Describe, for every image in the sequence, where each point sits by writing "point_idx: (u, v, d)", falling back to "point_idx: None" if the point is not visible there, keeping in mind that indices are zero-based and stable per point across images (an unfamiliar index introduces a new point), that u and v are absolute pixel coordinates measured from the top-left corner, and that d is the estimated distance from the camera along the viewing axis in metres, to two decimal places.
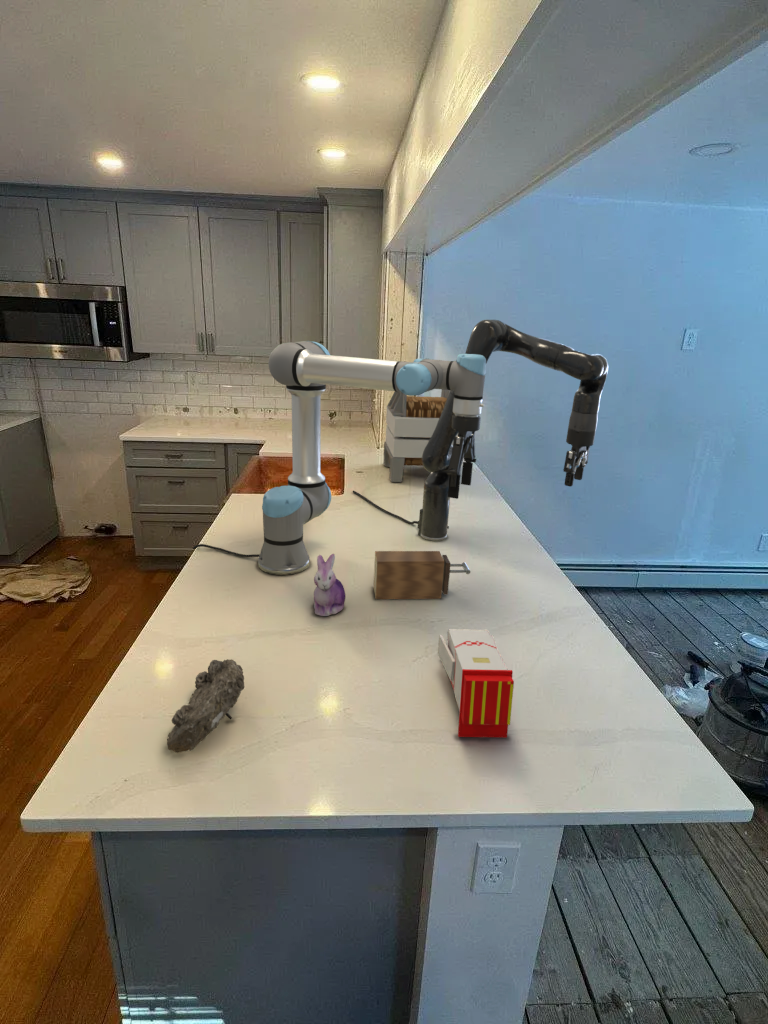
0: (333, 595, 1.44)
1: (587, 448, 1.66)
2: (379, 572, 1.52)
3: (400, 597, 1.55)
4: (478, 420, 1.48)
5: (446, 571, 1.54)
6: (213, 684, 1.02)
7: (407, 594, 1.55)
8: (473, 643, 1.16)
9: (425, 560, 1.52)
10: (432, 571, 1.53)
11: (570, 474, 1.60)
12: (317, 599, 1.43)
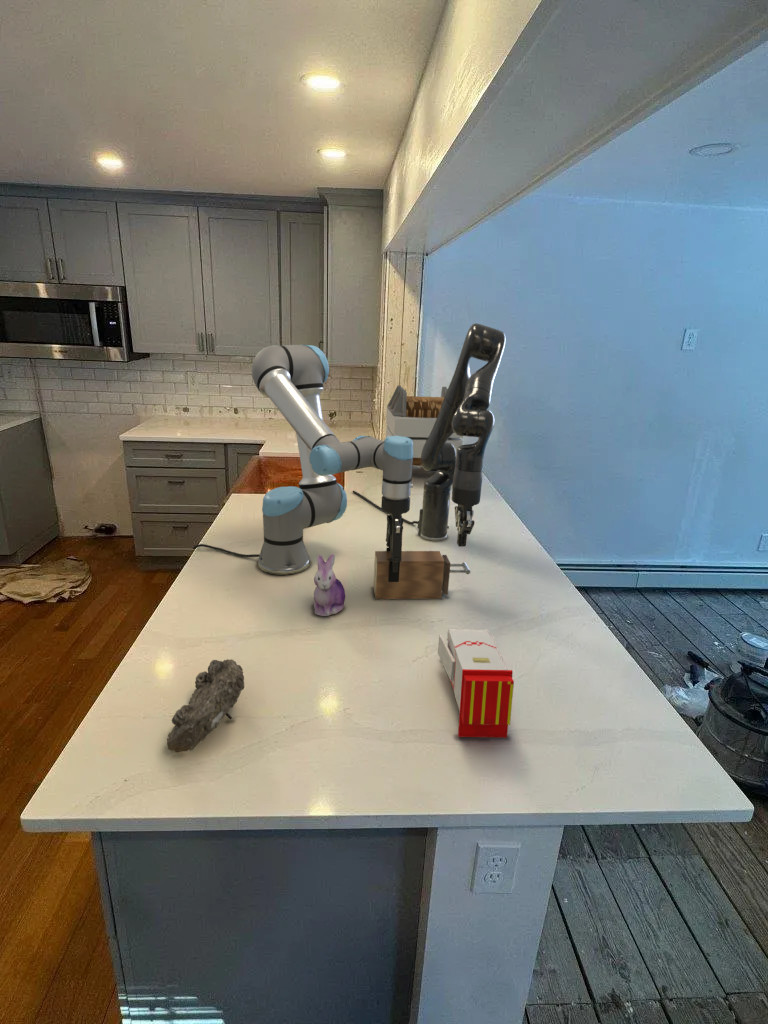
0: (333, 595, 1.44)
1: None
2: (379, 572, 1.52)
3: (400, 597, 1.55)
4: (409, 501, 1.48)
5: (446, 571, 1.54)
6: (213, 684, 1.02)
7: (407, 594, 1.55)
8: (473, 643, 1.16)
9: (425, 560, 1.52)
10: (432, 571, 1.53)
11: None
12: (317, 599, 1.43)
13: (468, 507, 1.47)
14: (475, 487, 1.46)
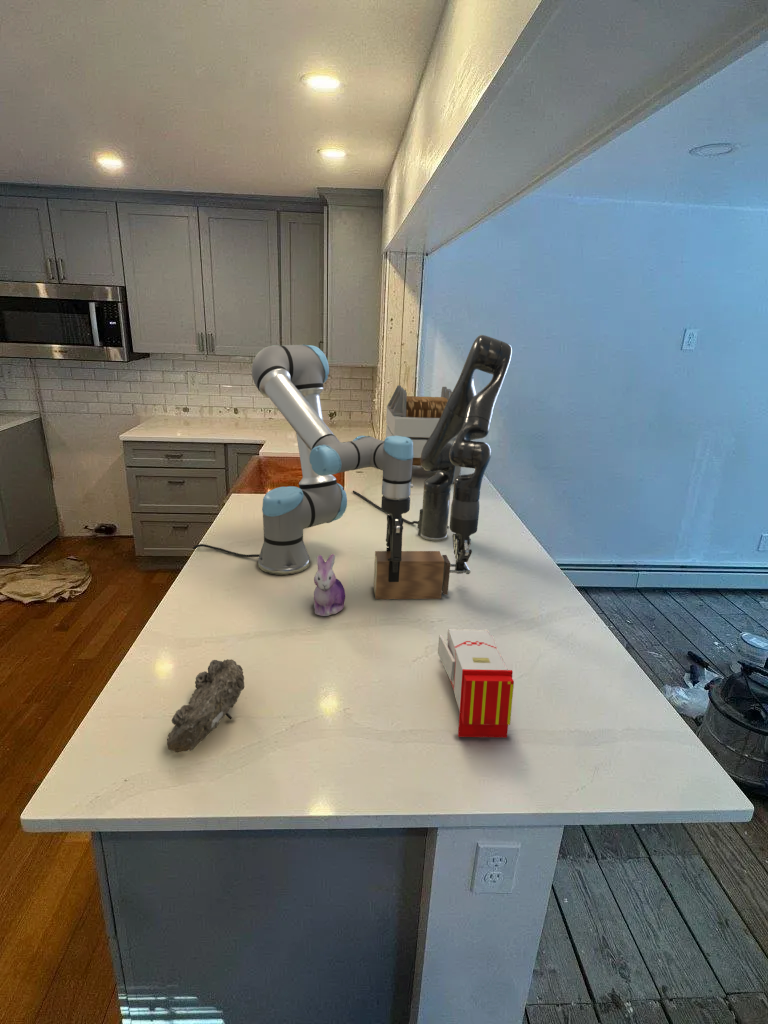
0: (333, 595, 1.44)
1: None
2: (379, 572, 1.52)
3: (400, 597, 1.55)
4: (409, 501, 1.48)
5: (446, 571, 1.54)
6: (213, 684, 1.02)
7: (407, 594, 1.55)
8: (473, 643, 1.16)
9: (425, 560, 1.52)
10: (432, 571, 1.53)
11: None
12: (317, 599, 1.43)
13: (465, 536, 1.50)
14: (472, 517, 1.49)
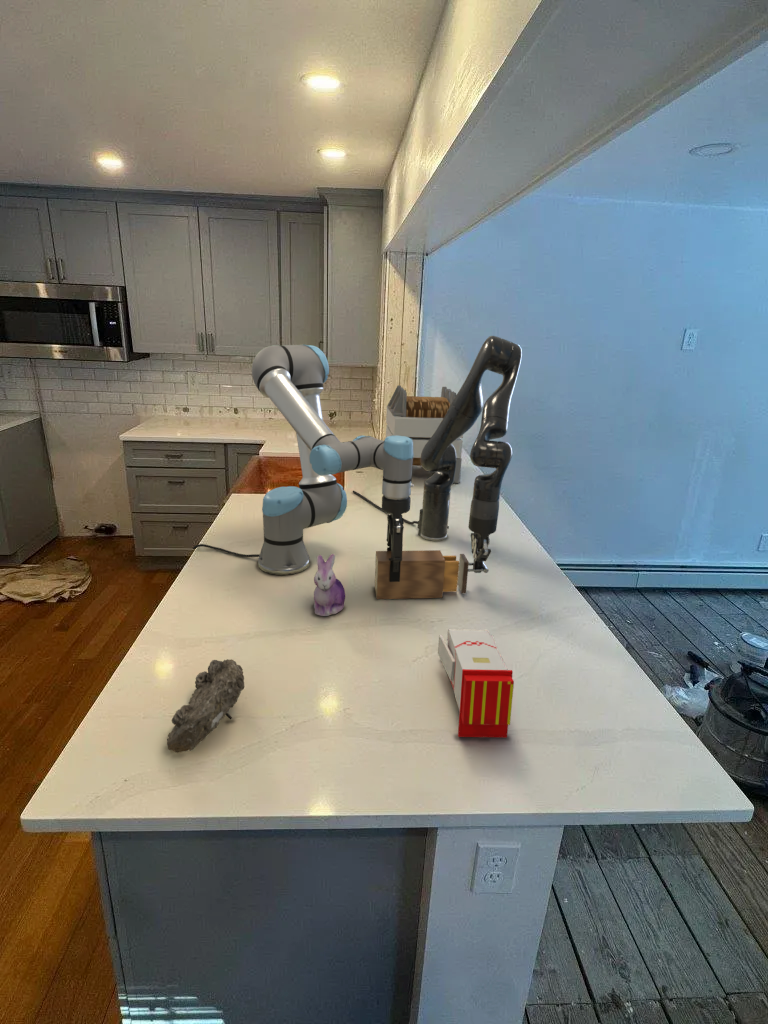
0: (333, 595, 1.44)
1: None
2: (380, 572, 1.52)
3: (401, 597, 1.55)
4: (410, 500, 1.48)
5: (464, 570, 1.55)
6: (213, 684, 1.02)
7: (408, 594, 1.55)
8: (473, 643, 1.16)
9: (426, 559, 1.52)
10: (433, 570, 1.53)
11: None
12: (317, 599, 1.43)
13: (484, 536, 1.51)
14: (492, 516, 1.49)
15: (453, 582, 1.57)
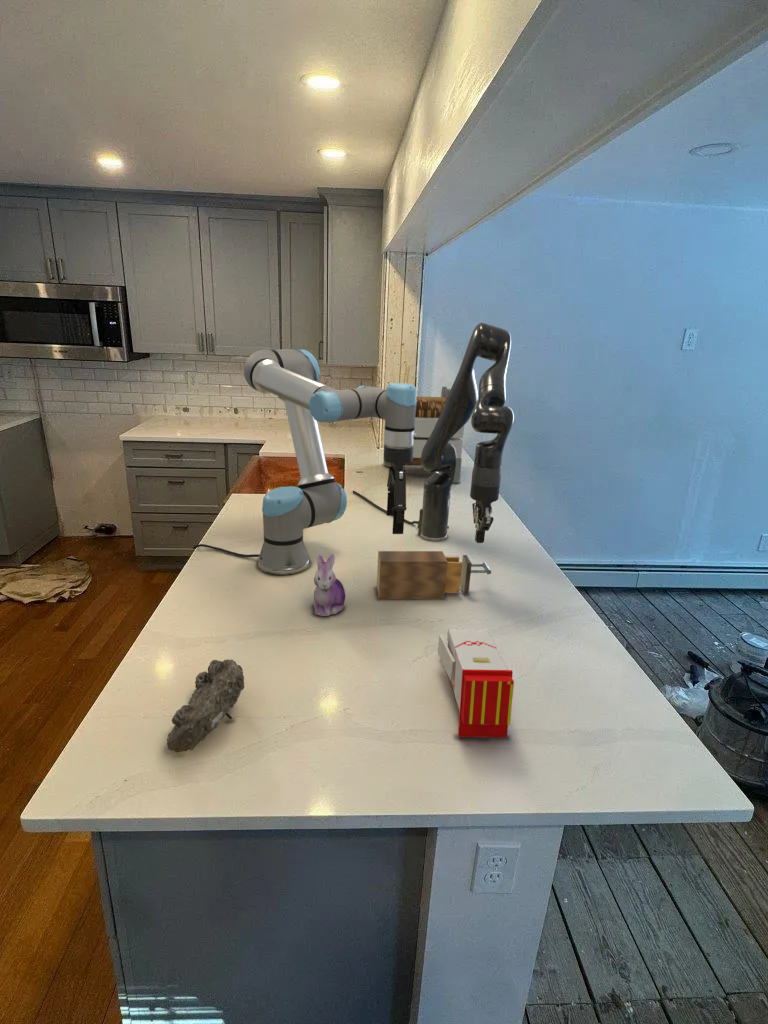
0: (333, 595, 1.44)
1: None
2: (382, 572, 1.52)
3: (403, 597, 1.55)
4: None
5: (467, 571, 1.55)
6: (213, 684, 1.02)
7: (410, 594, 1.55)
8: (473, 643, 1.16)
9: (428, 560, 1.52)
10: (435, 571, 1.53)
11: None
12: (317, 599, 1.43)
13: (486, 504, 1.48)
14: (494, 484, 1.46)
15: (456, 584, 1.57)
